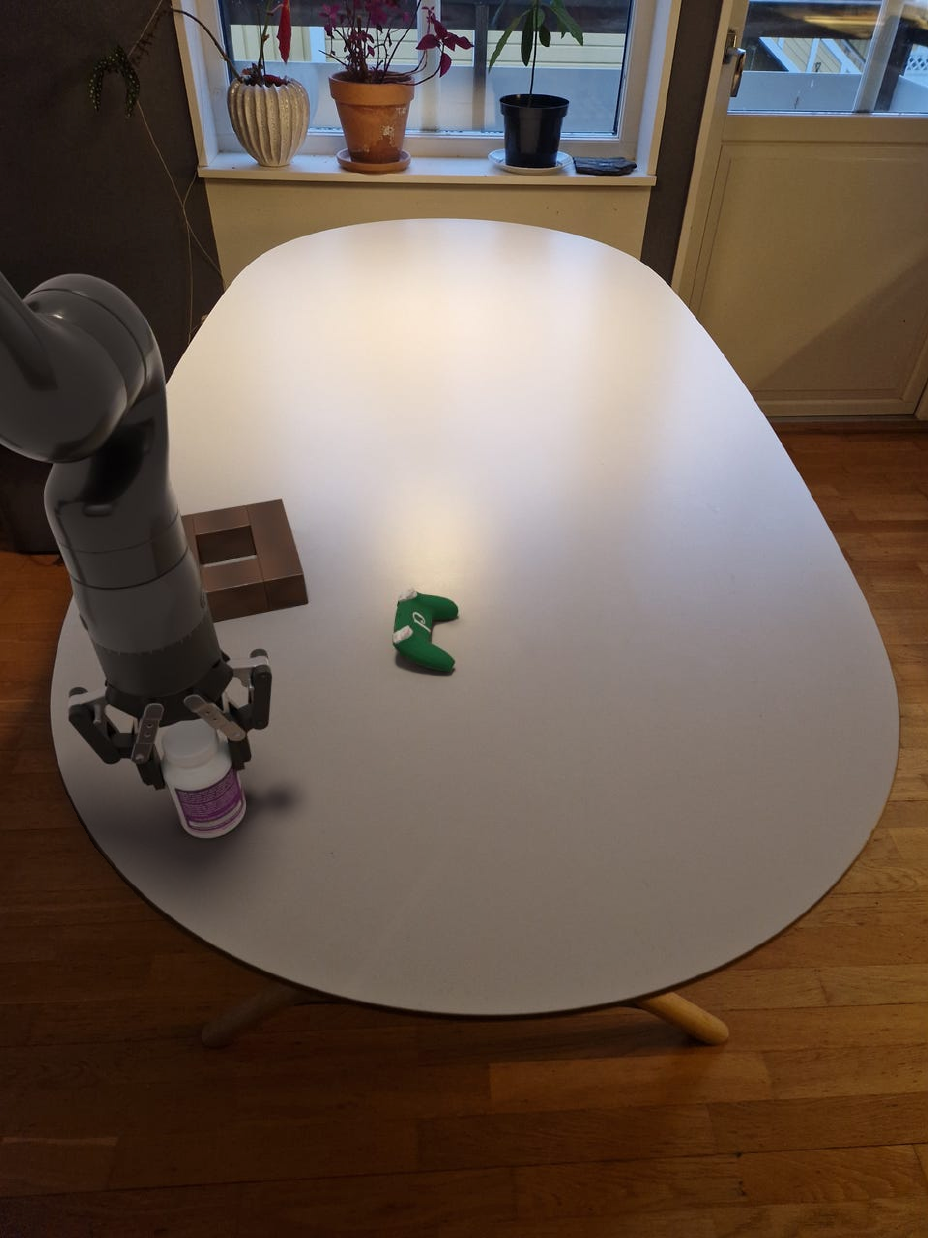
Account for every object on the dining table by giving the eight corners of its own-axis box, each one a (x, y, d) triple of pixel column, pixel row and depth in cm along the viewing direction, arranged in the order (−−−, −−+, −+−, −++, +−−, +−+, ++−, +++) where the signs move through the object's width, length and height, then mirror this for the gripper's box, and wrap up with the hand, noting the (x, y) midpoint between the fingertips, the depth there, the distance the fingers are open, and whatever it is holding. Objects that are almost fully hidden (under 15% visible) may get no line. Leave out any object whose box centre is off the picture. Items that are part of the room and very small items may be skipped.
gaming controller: (436, 623, 89) (393, 591, 87) (462, 604, 88) (418, 571, 85) (430, 688, 83) (383, 656, 80) (458, 669, 81) (411, 635, 78)
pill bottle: (261, 803, 71) (241, 726, 64) (216, 851, 67) (190, 776, 61) (211, 775, 73) (187, 698, 66) (165, 821, 69) (135, 745, 63)
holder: (170, 631, 86) (161, 600, 83) (162, 549, 95) (153, 520, 93) (308, 603, 89) (303, 573, 86) (286, 527, 99) (281, 498, 96)
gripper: (252, 552, 59) (285, 715, 71) (29, 593, 56) (101, 756, 67) (268, 623, 54) (301, 786, 65) (23, 673, 51) (103, 835, 62)
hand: (199, 770), depth 66 cm, fingers closed on pill bottle, 5 cm apart
